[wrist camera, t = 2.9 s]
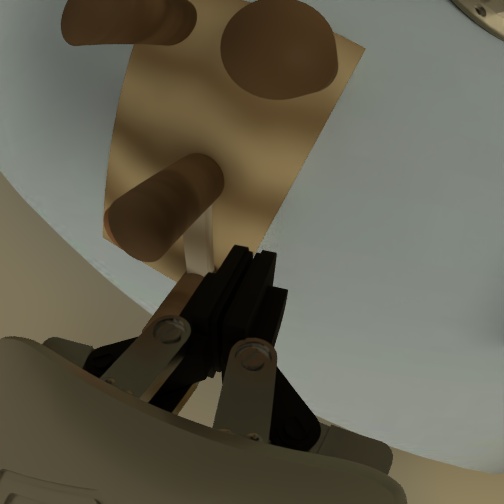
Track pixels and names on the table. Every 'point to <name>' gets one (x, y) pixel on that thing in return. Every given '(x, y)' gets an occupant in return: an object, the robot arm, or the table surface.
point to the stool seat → (217, 100)
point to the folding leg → (171, 222)
